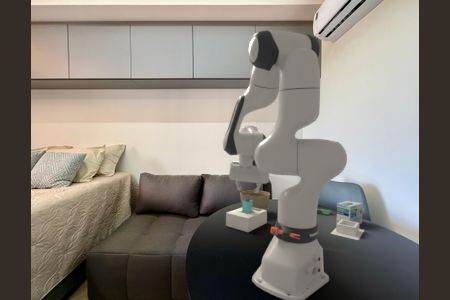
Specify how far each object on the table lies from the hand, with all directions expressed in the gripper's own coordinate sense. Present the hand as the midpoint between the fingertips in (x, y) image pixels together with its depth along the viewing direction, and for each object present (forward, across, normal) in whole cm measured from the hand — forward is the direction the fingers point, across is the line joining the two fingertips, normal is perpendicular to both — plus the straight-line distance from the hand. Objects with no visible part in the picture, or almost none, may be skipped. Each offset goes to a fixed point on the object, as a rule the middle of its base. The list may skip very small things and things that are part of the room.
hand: (247, 191), depth 107 cm
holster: (+15, +38, +18) cm, 45 cm away
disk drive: (+15, +18, +40) cm, 46 cm away
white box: (+15, -1, +1) cm, 15 cm away
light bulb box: (+15, +36, +31) cm, 50 cm away
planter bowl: (+15, -8, +19) cm, 25 cm away
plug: (+13, -1, +1) cm, 13 cm away
